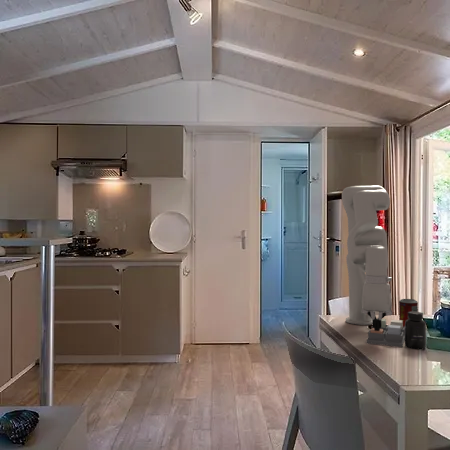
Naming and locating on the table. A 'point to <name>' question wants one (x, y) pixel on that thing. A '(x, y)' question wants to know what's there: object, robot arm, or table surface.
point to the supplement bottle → (415, 331)
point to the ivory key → (397, 323)
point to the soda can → (407, 308)
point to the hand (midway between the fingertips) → (377, 330)
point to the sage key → (383, 323)
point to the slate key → (394, 330)
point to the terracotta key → (377, 331)
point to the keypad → (386, 338)
